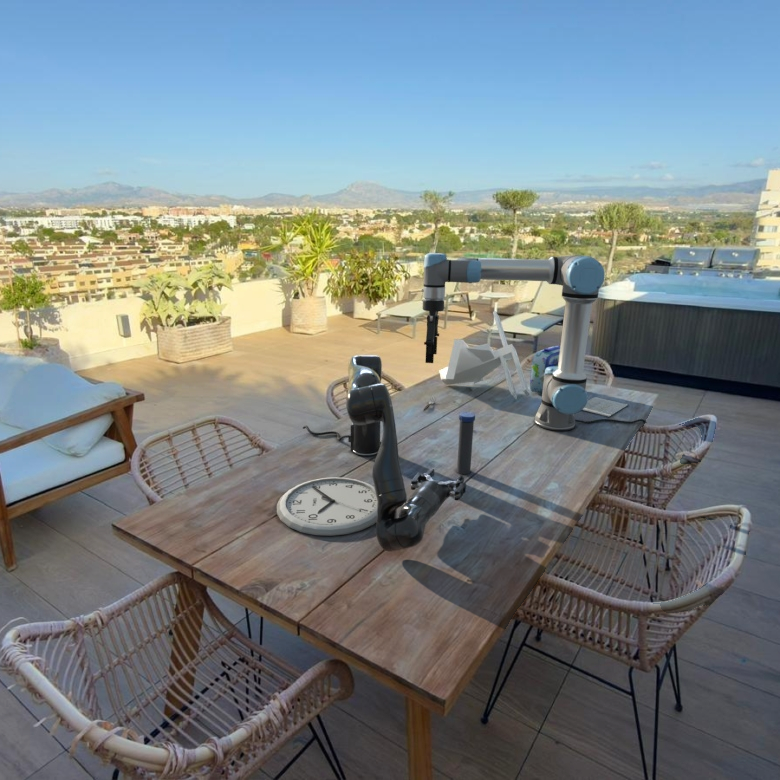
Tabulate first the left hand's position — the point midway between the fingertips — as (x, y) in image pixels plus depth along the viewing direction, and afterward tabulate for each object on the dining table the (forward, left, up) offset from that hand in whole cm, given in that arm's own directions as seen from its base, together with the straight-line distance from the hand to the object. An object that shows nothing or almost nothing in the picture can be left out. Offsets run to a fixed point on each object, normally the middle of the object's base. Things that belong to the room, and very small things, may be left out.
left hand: (446, 474), depth 148 cm
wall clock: (-26, -20, -6) cm, 33 cm away
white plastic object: (-18, +99, -6) cm, 101 cm away
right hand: (-22, +44, +22) cm, 54 cm away
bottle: (0, +17, -6) cm, 18 cm away
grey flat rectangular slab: (+34, +104, -6) cm, 110 cm away
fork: (-32, +70, -6) cm, 77 cm away
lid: (0, +16, +13) cm, 21 cm away
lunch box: (+11, +118, -6) cm, 118 cm away
